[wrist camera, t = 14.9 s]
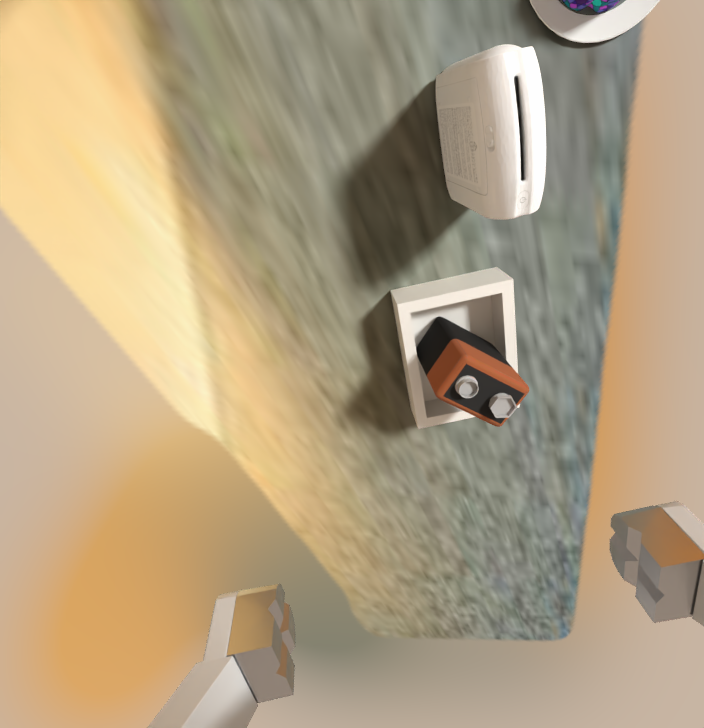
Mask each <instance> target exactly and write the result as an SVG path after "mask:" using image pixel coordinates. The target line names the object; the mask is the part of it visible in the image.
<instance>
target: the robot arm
mask: <svg viewBox="0 0 704 728" xmlns="http://www.w3.org/2000/svg"><path fill="white" fill-rule="evenodd" d="M611 527H612V528H613V530H614V531H615V534H614V535H613V536H612V538H611V539H610V552H611V556H612V560H613V562H614V564H615V566H616V568H617V570H618V572H619V573H620V575H621V576H622V578H623V579H624V580H625V581H627V582H628V583H630V584H632V585H634V586H636V598H637V599H638V601H639V602H640V604H641V605H642V607H643V608H644V609H645V611H646V612H647V614H648V615H649V617H650V618H651V619H652V621H653V622H654V623H656V622H662V621H667V620H674V619H680V618H686V617H692V616H693V617H692V618H693V619H694V620H696V621H697V622H698V623H700V624H701V625H703V626H704V524H703V523H702V522H701V521H700V520H699V519H698V518H697V517H696V516H695V515H694V514H693V513H692V512H691V511H690V510H689V509H688V508H687V507H686V506H685V505H684V504H683V503H680V502H678V501H675V502H670V503H665V504H661V505H656V506H649V507H645V508H640V509H636V510H631V511H626V512H622V513H617V514H614V515H613V516H612V518H611ZM284 597H285V592H284V590H283V588H282V586H281V584H275V585H270V586H264V587H258V588H253V589H246V590H241V591H236V592H231V593H226V594H220V595H219V596H218V598H217V600H216V602H215V606H214V611H213V616H212V620H211V625H210V630H209V635H208V640H207V644H206V649H205V654H204V659H203V662H199V663H196V665H195V666H194V667H193V669H192V670H191V671H190V672H189V674H188V675H187V676H186V678H185V679H184V681H183V682H182V683H181V684H180V686H179V687H178V688H177V689H176V691H175V692H174V694H173V695H172V696H171V697H170V699H169V700H168V701H167V703H166V704H165V705H164V707H163V708H162V709H161V711H160V712H159V713H158V714H157V716H156V717H155V718H154V720H153V721H152V723H151V724H150V725H149V726H148V728H247V726H248V724H249V722H250V720H251V718H252V716H253V714H254V712H255V710H256V709H257V707H258V704H257V703H260V702H265V701H269V700H273V699H278V698H282V697H286V696H290V695H293V692H294V667H295V665H294V663H293V660H292V658H291V655H290V654H291V652H292V651H293V649H294V647H295V624H294V618H293V614H292V611H291V608H290V605H289V604H287V603H285V602H284Z"/></svg>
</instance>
